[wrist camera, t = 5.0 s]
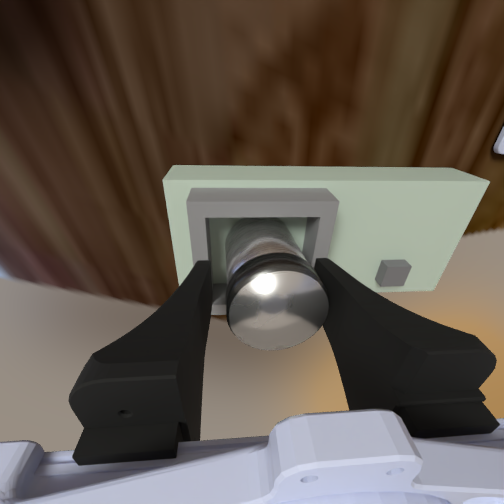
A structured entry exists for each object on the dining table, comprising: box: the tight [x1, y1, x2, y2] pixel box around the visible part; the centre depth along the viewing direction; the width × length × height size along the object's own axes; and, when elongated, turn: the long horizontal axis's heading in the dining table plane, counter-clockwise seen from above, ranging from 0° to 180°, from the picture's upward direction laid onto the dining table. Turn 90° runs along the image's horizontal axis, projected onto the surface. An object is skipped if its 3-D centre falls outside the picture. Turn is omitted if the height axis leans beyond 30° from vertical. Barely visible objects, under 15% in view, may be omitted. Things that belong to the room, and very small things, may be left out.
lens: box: [225, 217, 329, 350], centre depth 13 cm, size 4×4×6 cm
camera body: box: [163, 165, 490, 315], centre depth 16 cm, size 18×8×5 cm, turn 88°
